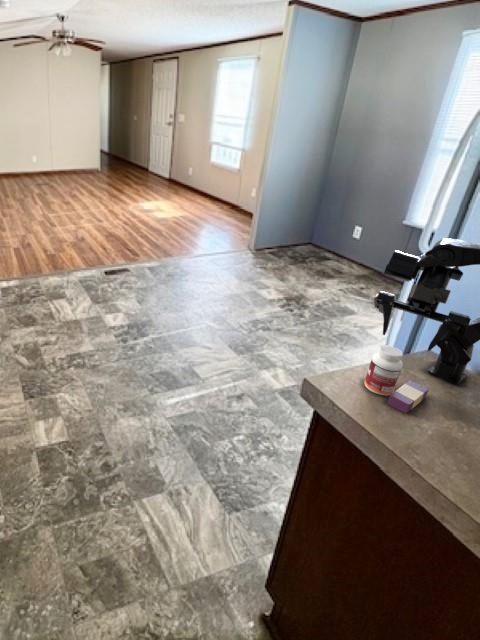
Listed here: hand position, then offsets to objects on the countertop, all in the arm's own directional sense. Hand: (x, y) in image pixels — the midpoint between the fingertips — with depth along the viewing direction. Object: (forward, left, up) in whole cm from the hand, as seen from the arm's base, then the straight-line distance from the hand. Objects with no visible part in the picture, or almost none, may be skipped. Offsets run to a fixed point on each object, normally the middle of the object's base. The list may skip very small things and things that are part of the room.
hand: (405, 342), depth 101 cm
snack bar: (+5, +5, -11) cm, 14 cm away
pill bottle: (+6, 0, -12) cm, 13 cm away
